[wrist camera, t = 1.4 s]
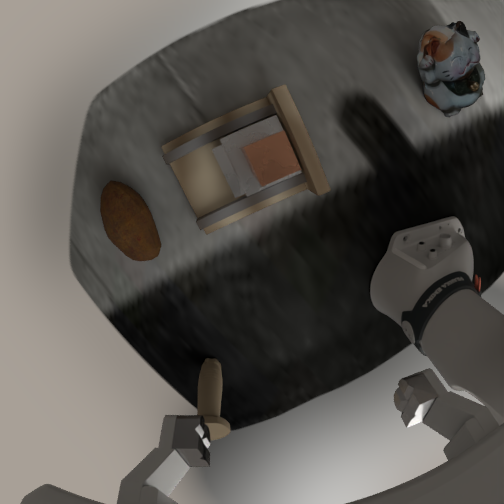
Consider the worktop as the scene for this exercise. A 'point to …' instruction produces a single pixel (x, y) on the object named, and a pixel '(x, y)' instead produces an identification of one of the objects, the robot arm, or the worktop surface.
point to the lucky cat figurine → (450, 67)
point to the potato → (129, 222)
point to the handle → (212, 398)
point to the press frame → (212, 178)
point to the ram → (256, 157)
